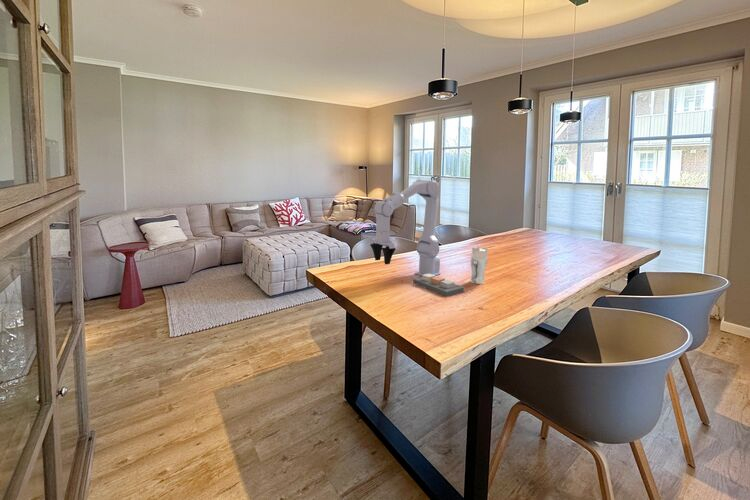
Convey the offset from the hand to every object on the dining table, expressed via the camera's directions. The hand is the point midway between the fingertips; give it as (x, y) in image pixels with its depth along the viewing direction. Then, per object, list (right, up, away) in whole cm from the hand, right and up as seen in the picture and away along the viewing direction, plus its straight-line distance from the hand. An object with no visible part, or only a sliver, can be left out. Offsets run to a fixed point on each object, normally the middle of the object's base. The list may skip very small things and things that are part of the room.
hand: (382, 261), depth 158 cm
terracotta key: (+23, -9, -1) cm, 25 cm away
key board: (+23, -11, -1) cm, 26 cm away
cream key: (+20, -8, +3) cm, 22 cm away
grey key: (+27, -10, -5) cm, 29 cm away
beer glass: (+42, -9, +8) cm, 44 cm away
